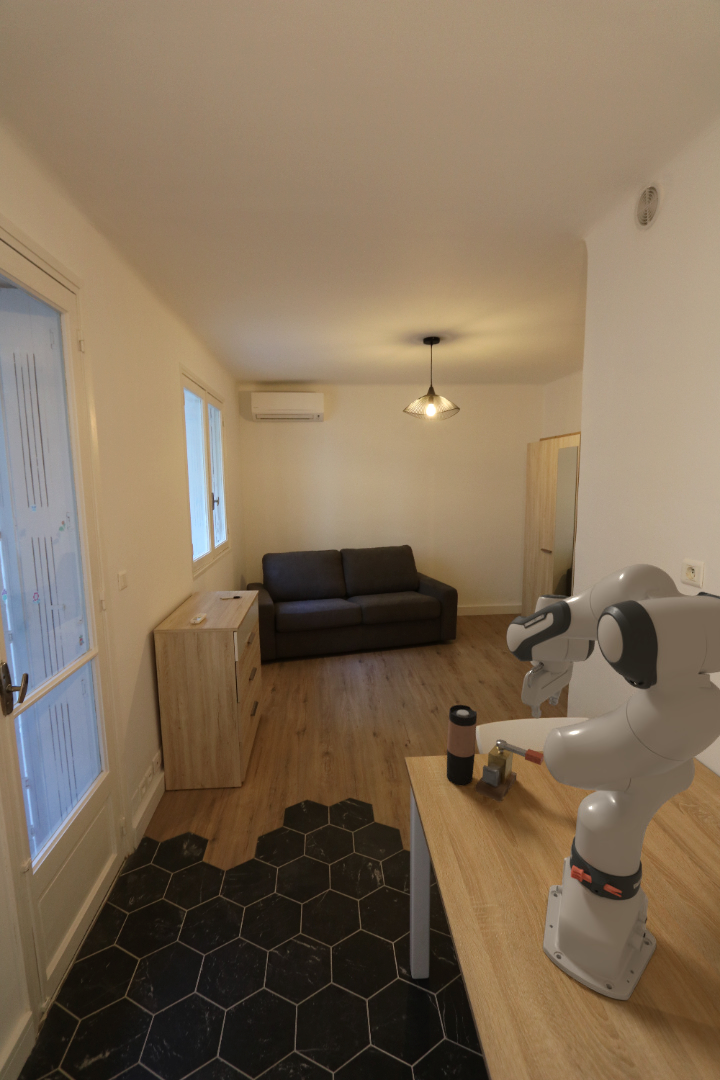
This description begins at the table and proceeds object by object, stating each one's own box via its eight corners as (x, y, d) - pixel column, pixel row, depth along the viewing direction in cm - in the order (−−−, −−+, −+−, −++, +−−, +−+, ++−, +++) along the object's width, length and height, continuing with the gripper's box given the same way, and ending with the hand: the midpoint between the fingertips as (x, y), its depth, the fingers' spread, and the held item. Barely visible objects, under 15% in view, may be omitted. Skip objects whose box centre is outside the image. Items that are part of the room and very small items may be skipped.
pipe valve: (497, 792, 126) (499, 764, 125) (479, 785, 129) (481, 757, 128) (512, 772, 135) (514, 746, 134) (495, 765, 138) (497, 740, 137)
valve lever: (494, 748, 132) (494, 742, 132) (498, 743, 134) (498, 737, 134) (540, 765, 125) (540, 758, 124) (543, 760, 127) (544, 754, 127)
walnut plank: (500, 802, 125) (500, 795, 125) (475, 791, 130) (475, 784, 129) (516, 779, 135) (516, 773, 135) (492, 770, 139) (492, 763, 139)
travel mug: (444, 783, 133) (447, 715, 130) (447, 767, 140) (450, 702, 137) (472, 788, 131) (476, 720, 128) (474, 772, 138) (478, 707, 135)
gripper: (542, 674, 108) (537, 730, 111) (579, 651, 122) (574, 701, 125) (516, 665, 113) (512, 720, 115) (555, 644, 127) (550, 693, 129)
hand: (545, 710), depth 120 cm, fingers open, 8 cm apart
